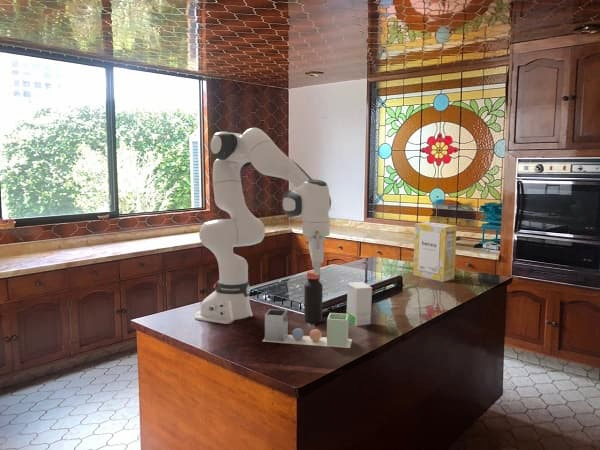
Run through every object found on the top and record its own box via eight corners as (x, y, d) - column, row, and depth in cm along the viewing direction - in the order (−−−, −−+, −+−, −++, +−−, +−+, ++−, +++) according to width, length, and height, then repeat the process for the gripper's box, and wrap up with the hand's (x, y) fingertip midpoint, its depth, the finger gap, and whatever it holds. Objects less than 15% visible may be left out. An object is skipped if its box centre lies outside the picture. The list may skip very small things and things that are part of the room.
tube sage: (326, 345, 156) (327, 319, 155) (329, 338, 162) (329, 312, 161) (346, 346, 155) (346, 320, 153) (348, 339, 161) (348, 314, 160)
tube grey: (265, 340, 160) (264, 315, 159) (269, 333, 166) (269, 309, 165) (283, 342, 159) (283, 316, 157) (287, 335, 165) (287, 310, 164)
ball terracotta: (308, 342, 158) (308, 331, 158) (310, 338, 162) (310, 326, 162) (320, 343, 157) (320, 331, 157) (322, 339, 161) (322, 327, 161)
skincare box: (345, 322, 182) (346, 282, 179) (361, 320, 184) (361, 281, 182) (355, 329, 174) (356, 288, 172) (371, 327, 176) (372, 286, 174)
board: (262, 344, 160) (262, 341, 159) (268, 336, 167) (267, 333, 167) (350, 351, 154) (350, 347, 154) (352, 342, 161) (352, 339, 161)
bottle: (311, 319, 185) (311, 269, 182) (325, 322, 181) (326, 271, 178) (300, 323, 180) (300, 272, 177) (314, 327, 175) (315, 275, 173)
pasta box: (413, 275, 255) (415, 223, 251) (424, 272, 262) (426, 221, 258) (443, 281, 241) (445, 227, 237) (454, 278, 248) (456, 225, 244)
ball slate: (290, 341, 159) (290, 329, 159) (293, 336, 163) (293, 325, 163) (302, 342, 159) (302, 330, 158) (304, 337, 162) (304, 326, 162)
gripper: (328, 234, 144) (328, 278, 146) (323, 225, 165) (323, 264, 166) (307, 234, 144) (307, 279, 146) (305, 225, 164) (305, 264, 166)
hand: (316, 271), depth 156 cm, fingers open, 8 cm apart
